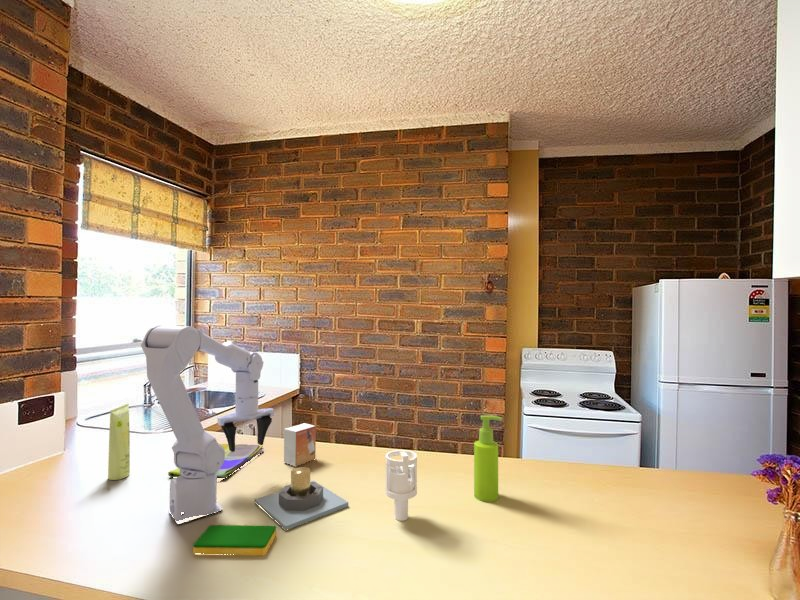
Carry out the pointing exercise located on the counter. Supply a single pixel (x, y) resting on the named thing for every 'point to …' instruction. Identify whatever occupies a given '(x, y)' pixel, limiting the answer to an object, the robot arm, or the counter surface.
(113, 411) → the tube
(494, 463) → the soap dispenser
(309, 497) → the ring plate
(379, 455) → the counter surface
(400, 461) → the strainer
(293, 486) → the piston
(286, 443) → the small box
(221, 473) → the dish towel
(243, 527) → the dish sponge
